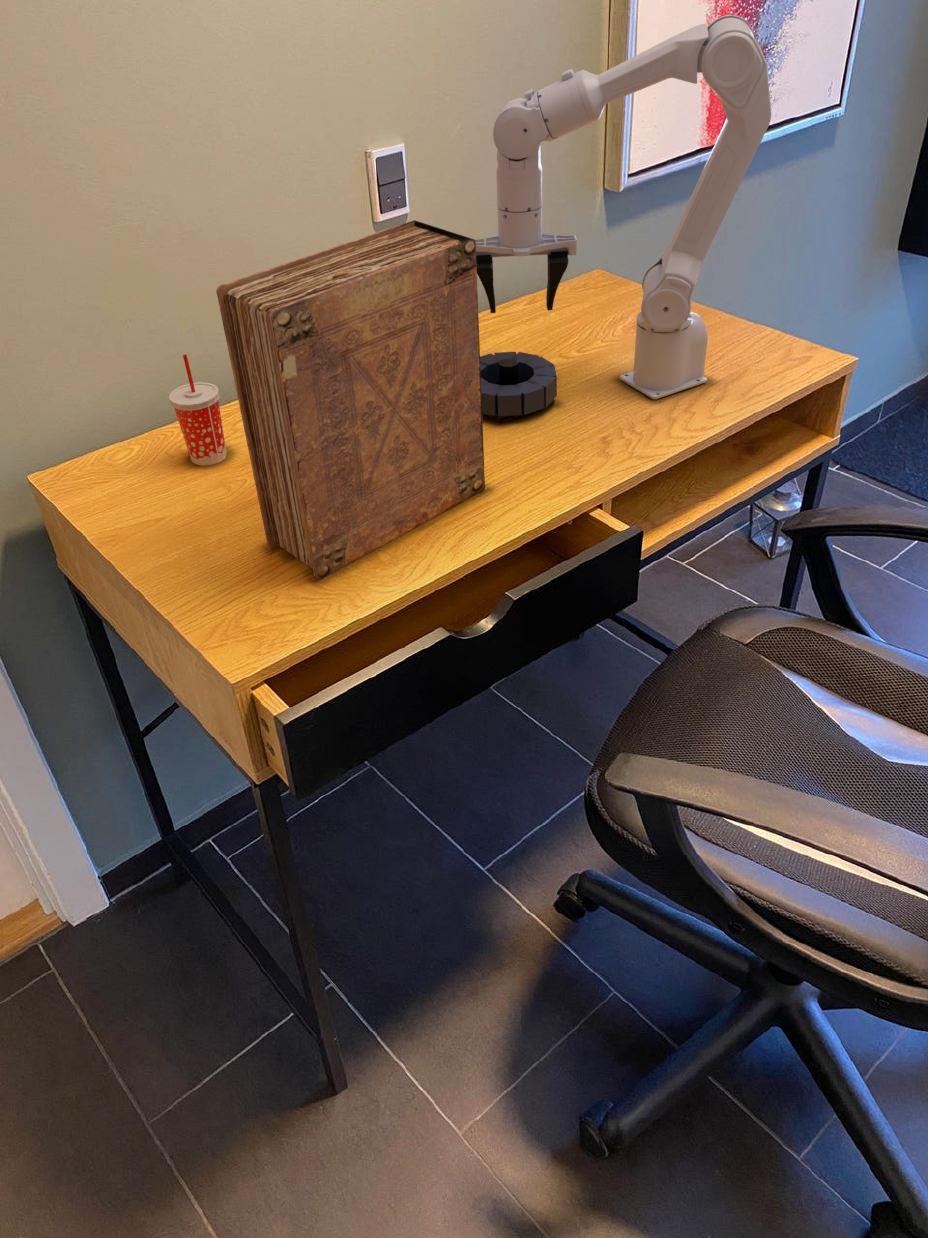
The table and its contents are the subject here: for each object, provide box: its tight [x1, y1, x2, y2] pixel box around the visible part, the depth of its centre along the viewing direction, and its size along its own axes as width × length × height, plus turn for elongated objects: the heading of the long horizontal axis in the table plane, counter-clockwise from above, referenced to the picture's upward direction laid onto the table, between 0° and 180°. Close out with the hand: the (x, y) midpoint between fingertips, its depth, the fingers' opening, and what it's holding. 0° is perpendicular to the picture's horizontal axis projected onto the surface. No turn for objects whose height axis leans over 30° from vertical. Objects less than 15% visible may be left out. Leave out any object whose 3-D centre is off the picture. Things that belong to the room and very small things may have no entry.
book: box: [215, 220, 486, 580], centre depth 107 cm, size 25×9×30 cm, turn 133°
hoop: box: [480, 351, 558, 417], centre depth 136 cm, size 13×13×3 cm
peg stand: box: [488, 358, 555, 424], centre depth 136 cm, size 9×9×6 cm
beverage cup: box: [168, 354, 228, 466], centre depth 125 cm, size 6×6×14 cm
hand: (521, 308), depth 136 cm, fingers open, 7 cm apart
